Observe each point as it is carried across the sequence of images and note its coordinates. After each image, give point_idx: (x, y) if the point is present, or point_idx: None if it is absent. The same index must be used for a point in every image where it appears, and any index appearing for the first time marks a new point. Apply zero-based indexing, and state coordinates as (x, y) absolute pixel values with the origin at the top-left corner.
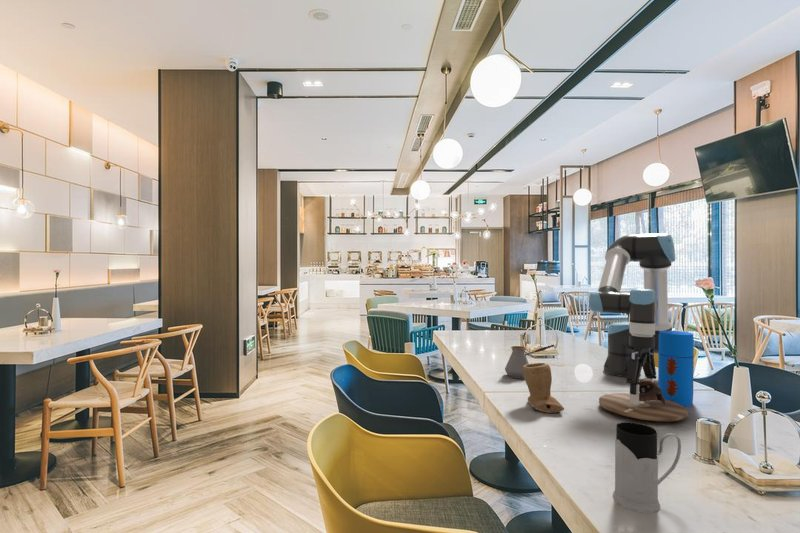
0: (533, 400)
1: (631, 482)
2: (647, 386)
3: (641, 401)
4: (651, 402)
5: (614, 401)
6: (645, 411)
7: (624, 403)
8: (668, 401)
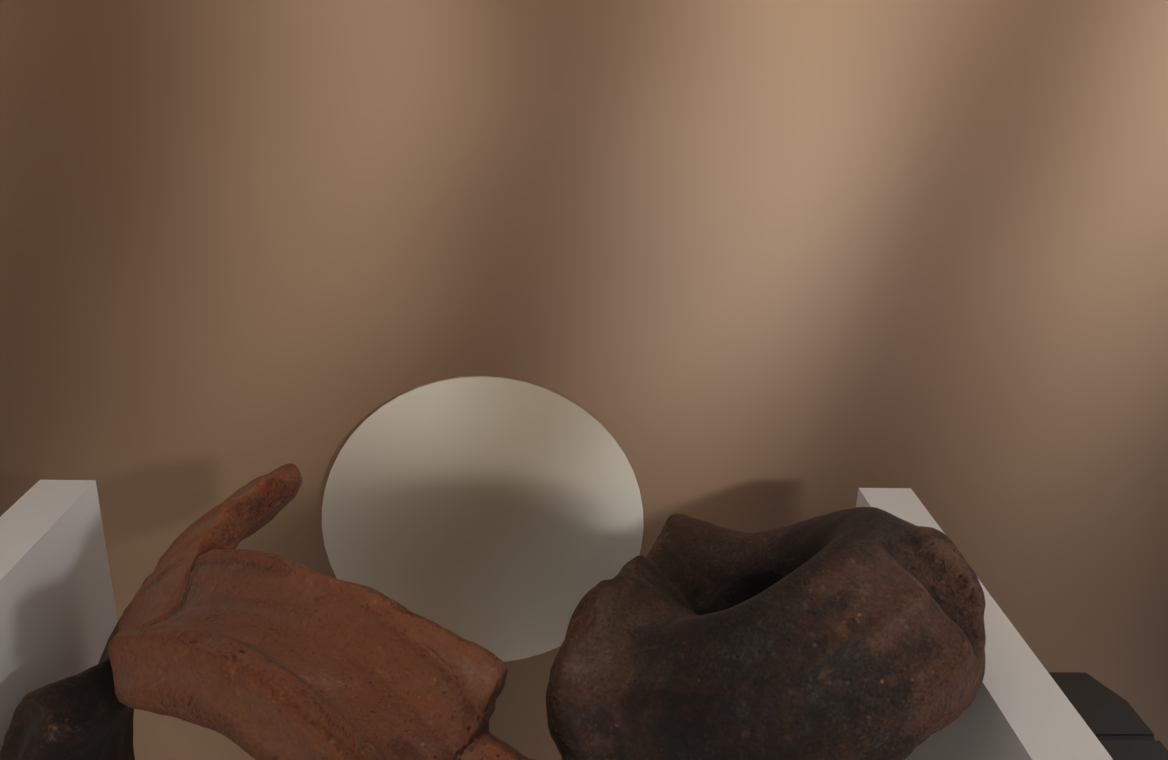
0: None
1: None
2: (941, 735)
3: (709, 449)
4: None
5: (188, 32)
6: None
7: (238, 269)
8: None
